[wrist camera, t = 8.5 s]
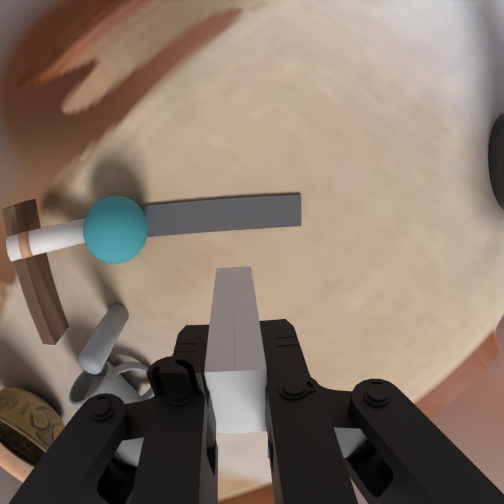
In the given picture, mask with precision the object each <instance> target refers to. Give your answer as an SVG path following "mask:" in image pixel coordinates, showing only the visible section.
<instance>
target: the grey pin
mask: <svg viewBox="0 0 504 504" xmlns="http://www.w3.org/2000/svg"><path fill="white" fill-rule="evenodd" d="M128 317H129V314H128V311H127V310H126V308H125V307H124V306H122V305H120V304H114V305H112V306H111V307H110V308H109V310H108V311H107V313H106V314H105V316H104V317H103V319H102V320H101V322H100V323H99V325H98V326H97V328H96V329H95V331H94V332H93V334H92V336H91V337H90V339H89V340H88V342H87V343H86V345H85V347H84V348H83V350H82V351H81V353H80V355H79V356H78V362H79V364H80V366H81V367H82V368H83V369H84V370H85V371H87V372H89V373H91V374H98V373H100V372H101V370H102V368H103V366H104V364H105V362H106V360H107V358H108V356H109V354H110V352H111V350H112V348H113V346H114V344H115V342H116V340H117V338H118V336H119V334H120V333H121V331H122V329H123V327H124V325H125V323H126V321H127V319H128Z"/></svg>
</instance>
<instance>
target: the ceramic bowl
mask: <svg viewBox="0 0 504 504" xmlns="http://www.w3.org/2000/svg"><path fill="white" fill-rule="evenodd" d="M64 428H65V425H64V423H63V421H62V420H61V418H60V416H59V415H58V414H57V412H56V411H55V410H54V409H53V408H52V407H51V406H50V405H49V404H48V403H47V402H46V401H45V400H43V399H42V398H40V397H39V396H37V395H36V394H34V393H32V392H30V391H27V390H25V389H22V388H15V387H9V388H5V389H2V390H1V391H0V445H1V446H2V447H3V448H5V449H6V450H7V451H8V452H9V453H11V454H12V455H13V456H14V457H16V458H17V459H19V460H20V461H22V462H24V463H25V464H27V465H29V466H31V467H33V468H34V467H35V466H36V465H37V463H38V462H39V461H40V459H41V458H42V457H43V455H44V454H45V453H46V451H47V450H48V449H49V447H50V446H51V445H52V443H53V442H54V441H55V439H56V438H57V437H58V435H59V434H60V433H61V431H62V430H63V429H64Z"/></svg>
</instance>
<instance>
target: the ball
mask: <svg viewBox="0 0 504 504" xmlns="http://www.w3.org/2000/svg"><path fill="white" fill-rule="evenodd" d="M147 233H148V224H147V219H146V216H145V214H144V212H143V210H142V209H141V207H140V206H139V205H138V204H137V203H136V202H134V201H133V200H132V199H130V198H128V197H125V196H120V195H113V196H107V197H104V198H102V199H100V200H99V201H97V202H96V203H95V204H94V205H93V206H92V207H91V208H90V209H89V211H88V213H87V214H86V217H85V219H84V224H83V237H84V241H85V243H86V246H87V248H88V249H89V251H90V252H91V253H92V254H93V255H94V256H95V257H96V258H98V259H99V260H101V261H103V262H106V263H111V264H118V263H123V262H126V261H129V260H130V259H132V258H133V257H135V256H136V255H137V254H138V253H139V252H140V251H141V249H142V248H143V246H144V244H145V241H146V238H147Z"/></svg>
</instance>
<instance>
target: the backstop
mask: <svg viewBox="0 0 504 504" xmlns="http://www.w3.org/2000/svg"><path fill="white" fill-rule="evenodd" d="M3 215H4V220H5V225H6V230H7V235H8V237H9V236H13V235H16V234H19V233H22V232H26V231H32V230H36V229H40V228H41V227H40V222H39V217H38V211H37V205H36V199H32V200H28V201H24V202H21V203H18V204H15V205H13V206H10V207H7V208H5V209H3ZM14 264H15V267H16V271H17V274H18V278H19V281H20V284H21V287H22V290H23V293H24V296H25V299H26V302H27V305H28V308H29V310H30V313H31V316H32V318H33V321H34V323H35V326H36V328H37V331H38V333H39V335H40V338H41V340H42V342H43V344H50V345H55V344H56V343H57V342H58V340H59V339H60V338H61V336H62V335H63V334H64V332H65V331H66V330H67V328H68V327H69V326H68V323H67V321H66V318H65V315H64V312H63V309H62V306H61V303H60V300H59V297H58V294H57V291H56V288H55V284H54V281H53V277H52V274H51V270H50V267H49V263H48V259H47V255H46V252H45V253H41V254H37V255H34V256H32V257H28V258H24V259H23V258H22V259H18V260H15V261H14Z"/></svg>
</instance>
